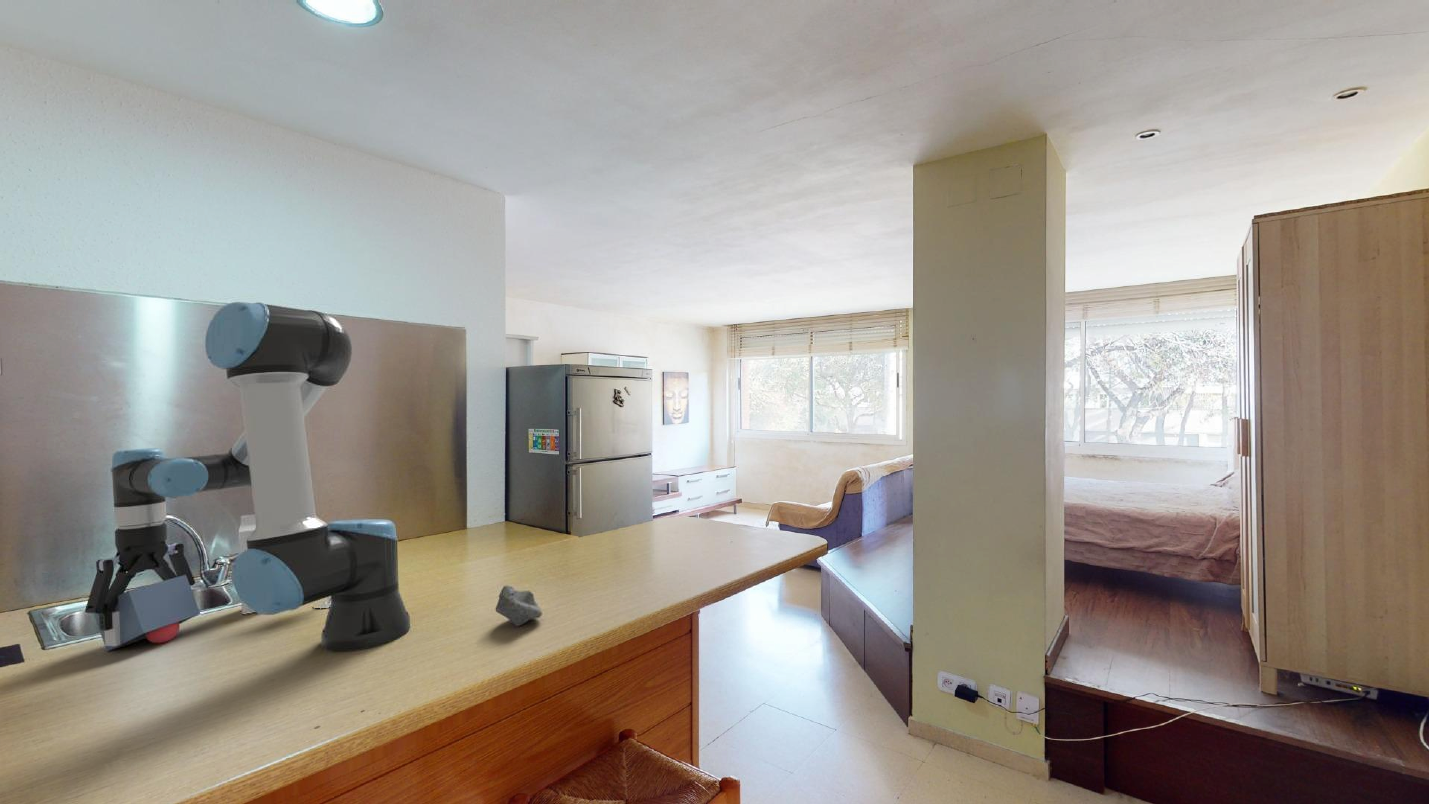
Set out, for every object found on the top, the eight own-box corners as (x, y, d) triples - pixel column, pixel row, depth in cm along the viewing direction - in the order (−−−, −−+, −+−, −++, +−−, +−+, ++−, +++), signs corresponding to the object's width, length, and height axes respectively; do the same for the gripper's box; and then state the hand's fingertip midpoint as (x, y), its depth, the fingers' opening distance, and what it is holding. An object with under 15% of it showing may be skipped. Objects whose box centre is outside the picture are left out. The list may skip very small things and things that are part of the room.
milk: (274, 609, 134) (270, 514, 134) (241, 615, 131) (237, 518, 131) (278, 602, 140) (275, 510, 140) (246, 607, 137) (243, 513, 137)
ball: (168, 609, 120) (165, 633, 120) (140, 619, 115) (136, 643, 115) (187, 616, 119) (184, 639, 119) (159, 625, 114) (156, 650, 114)
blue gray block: (200, 613, 122) (185, 574, 122) (143, 633, 112) (128, 590, 112) (165, 630, 124) (151, 592, 124) (107, 651, 114) (92, 609, 114)
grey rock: (548, 627, 116) (546, 587, 116) (500, 638, 112) (499, 596, 112) (536, 611, 126) (534, 574, 126) (491, 620, 121) (490, 582, 121)
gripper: (187, 513, 130) (191, 612, 130) (53, 538, 108) (58, 657, 108) (214, 513, 129) (218, 614, 129) (84, 538, 106) (89, 659, 106)
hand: (145, 633), depth 118 cm, fingers closed on blue gray block, 10 cm apart
